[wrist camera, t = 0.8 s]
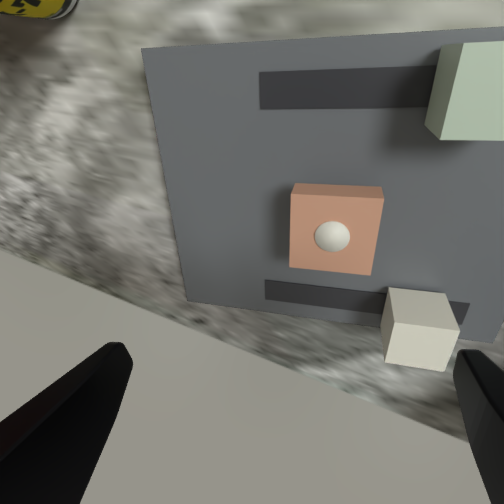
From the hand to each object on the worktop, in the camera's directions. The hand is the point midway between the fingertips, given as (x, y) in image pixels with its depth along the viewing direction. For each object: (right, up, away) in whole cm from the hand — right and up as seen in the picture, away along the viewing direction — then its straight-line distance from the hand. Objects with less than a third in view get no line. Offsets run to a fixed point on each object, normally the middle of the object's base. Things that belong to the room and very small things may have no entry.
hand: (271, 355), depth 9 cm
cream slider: (+9, -1, +11) cm, 14 cm away
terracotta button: (+4, +4, +8) cm, 10 cm away
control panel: (+5, +6, +11) cm, 13 cm away
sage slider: (+8, +10, +5) cm, 14 cm away
